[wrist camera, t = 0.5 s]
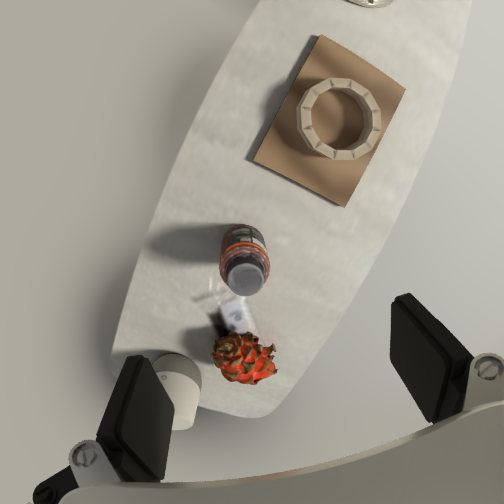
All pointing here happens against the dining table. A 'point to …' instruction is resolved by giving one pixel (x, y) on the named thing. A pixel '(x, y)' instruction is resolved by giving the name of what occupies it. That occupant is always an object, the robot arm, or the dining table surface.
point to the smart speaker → (180, 386)
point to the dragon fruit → (243, 358)
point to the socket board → (330, 121)
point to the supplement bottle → (244, 260)
